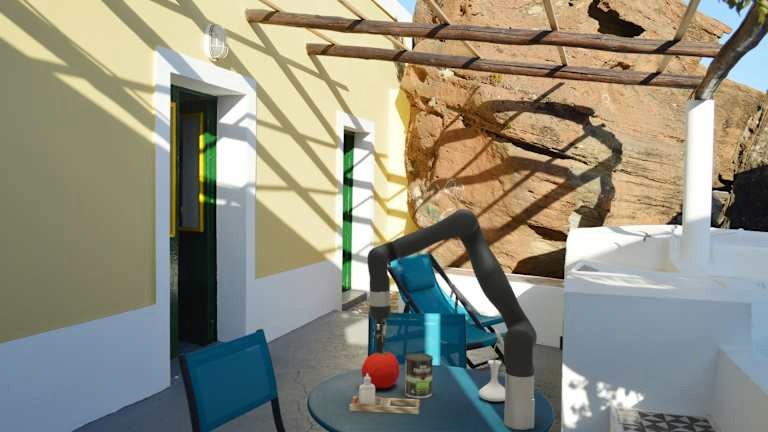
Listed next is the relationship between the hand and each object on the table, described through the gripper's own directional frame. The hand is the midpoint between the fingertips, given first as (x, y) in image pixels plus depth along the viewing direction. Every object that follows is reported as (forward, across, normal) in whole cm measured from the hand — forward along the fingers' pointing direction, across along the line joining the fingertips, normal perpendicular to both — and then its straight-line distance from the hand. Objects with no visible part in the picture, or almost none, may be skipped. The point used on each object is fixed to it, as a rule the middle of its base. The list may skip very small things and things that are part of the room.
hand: (380, 349), depth 213 cm
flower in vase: (+22, +15, -40) cm, 48 cm away
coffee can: (+21, +16, -12) cm, 29 cm away
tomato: (+21, +21, +2) cm, 30 cm away
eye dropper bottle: (+21, 0, +5) cm, 21 cm away
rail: (+21, 0, -1) cm, 21 cm away
